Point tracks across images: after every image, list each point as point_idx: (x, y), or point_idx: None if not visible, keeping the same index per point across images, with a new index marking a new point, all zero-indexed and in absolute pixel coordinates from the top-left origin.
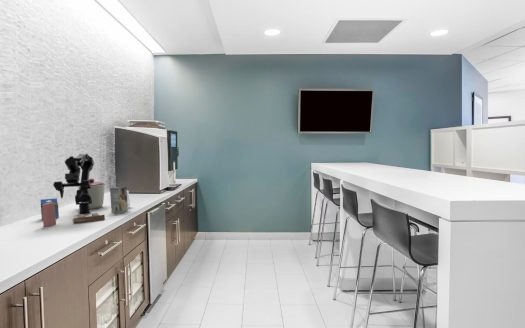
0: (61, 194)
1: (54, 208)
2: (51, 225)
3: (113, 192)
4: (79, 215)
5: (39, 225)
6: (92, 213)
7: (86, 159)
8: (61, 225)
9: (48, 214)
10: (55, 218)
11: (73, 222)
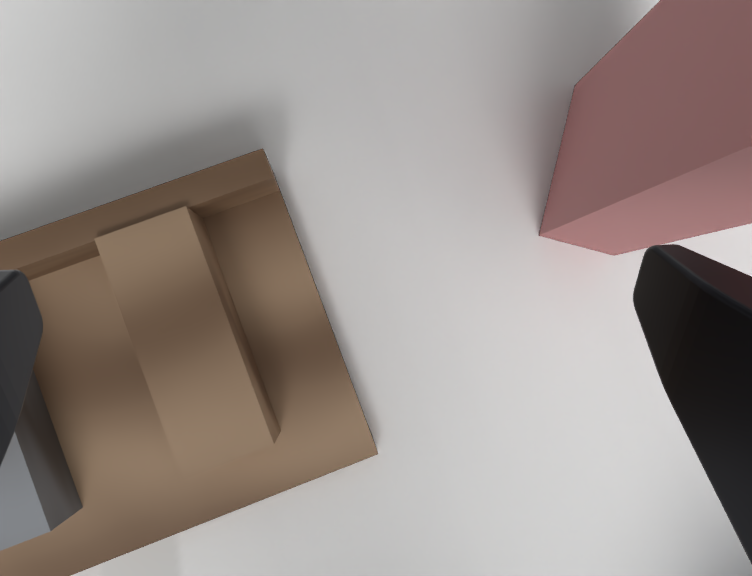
0: (748, 295)
1: (661, 165)
2: (563, 139)
3: None
4: (227, 365)
5: (747, 225)
6: (27, 499)
7: None
8: (422, 114)
9: (660, 6)
10: (571, 219)
11: (301, 248)
